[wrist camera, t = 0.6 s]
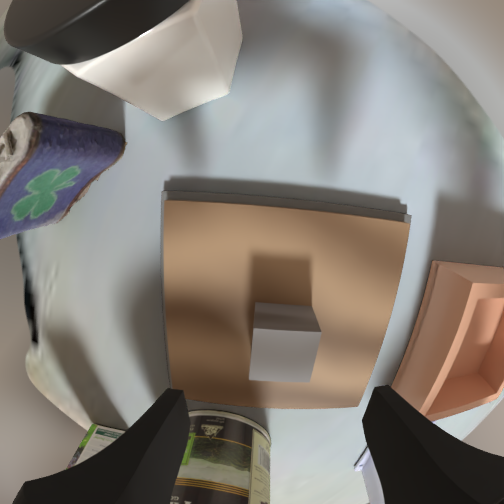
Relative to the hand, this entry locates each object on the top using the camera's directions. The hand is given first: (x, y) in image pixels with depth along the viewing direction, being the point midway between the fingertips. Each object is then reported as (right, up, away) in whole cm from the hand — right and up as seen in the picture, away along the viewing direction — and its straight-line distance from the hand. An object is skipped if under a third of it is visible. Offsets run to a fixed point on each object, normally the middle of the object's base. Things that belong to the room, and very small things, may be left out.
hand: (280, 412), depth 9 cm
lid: (+1, +1, +9) cm, 9 cm away
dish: (+18, -1, +9) cm, 20 cm away
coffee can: (-4, -13, +13) cm, 19 cm away
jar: (-6, +19, +6) cm, 20 cm away
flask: (-13, +11, +8) cm, 19 cm away
